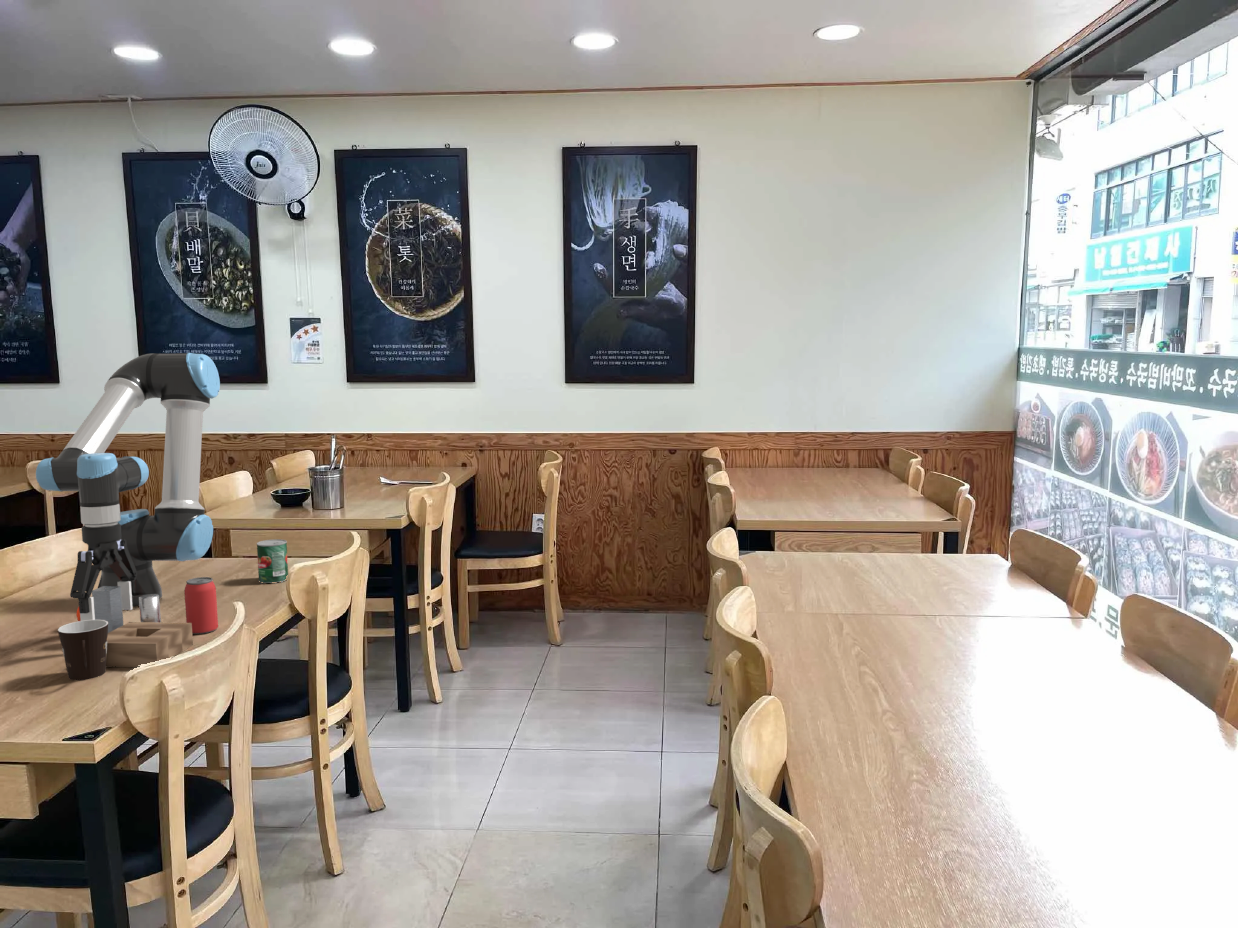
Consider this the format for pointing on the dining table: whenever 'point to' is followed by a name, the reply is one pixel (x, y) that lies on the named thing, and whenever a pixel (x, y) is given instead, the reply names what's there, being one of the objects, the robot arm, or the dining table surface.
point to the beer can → (201, 605)
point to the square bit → (108, 606)
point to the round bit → (149, 608)
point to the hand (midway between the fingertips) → (107, 618)
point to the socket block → (146, 642)
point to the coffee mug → (84, 648)
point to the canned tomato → (272, 560)
